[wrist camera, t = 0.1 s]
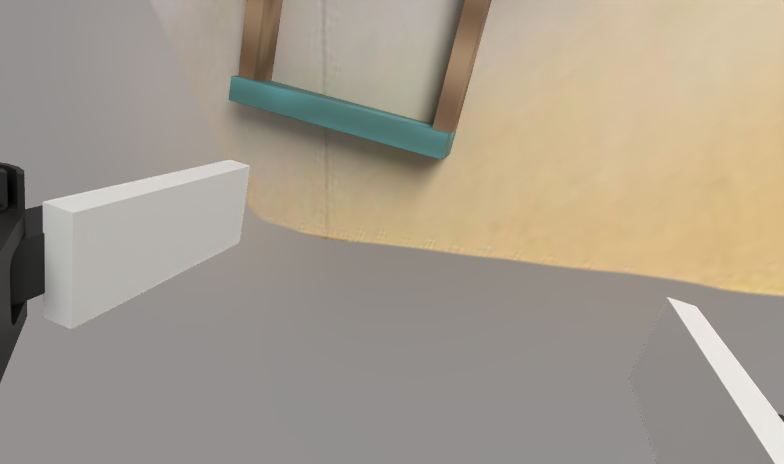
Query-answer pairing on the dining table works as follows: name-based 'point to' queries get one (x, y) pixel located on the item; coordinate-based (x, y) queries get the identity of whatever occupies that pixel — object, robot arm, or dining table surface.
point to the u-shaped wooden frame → (348, 116)
